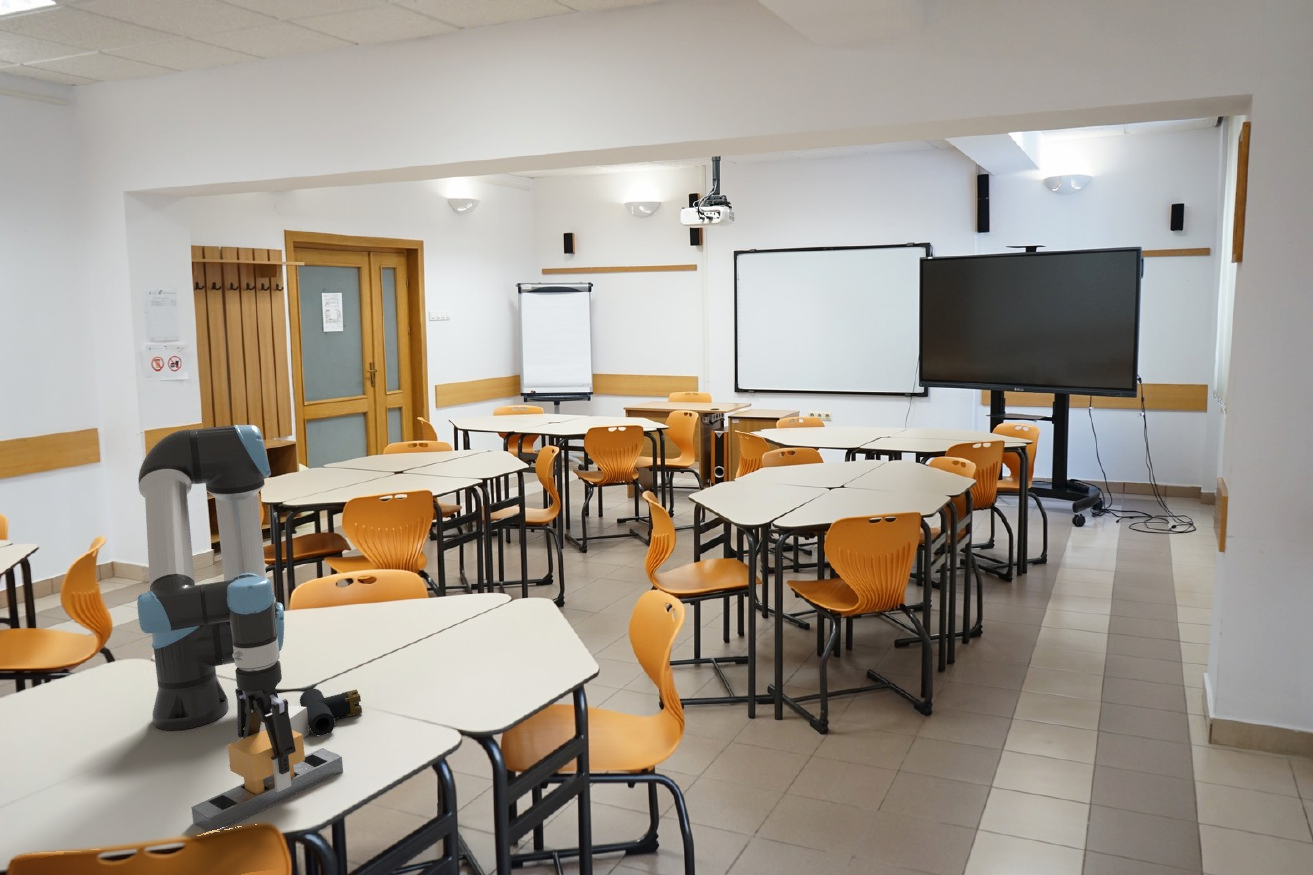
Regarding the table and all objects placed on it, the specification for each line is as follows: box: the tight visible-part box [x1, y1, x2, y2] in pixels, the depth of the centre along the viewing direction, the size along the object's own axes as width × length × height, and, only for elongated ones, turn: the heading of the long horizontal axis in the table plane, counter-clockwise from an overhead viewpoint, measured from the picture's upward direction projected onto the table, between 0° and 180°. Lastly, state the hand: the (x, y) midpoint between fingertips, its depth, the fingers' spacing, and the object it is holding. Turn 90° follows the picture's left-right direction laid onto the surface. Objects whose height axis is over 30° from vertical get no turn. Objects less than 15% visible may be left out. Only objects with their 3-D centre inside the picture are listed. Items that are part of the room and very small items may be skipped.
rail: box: [191, 747, 344, 832], centre depth 174 cm, size 6×26×3 cm, turn 142°
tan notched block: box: [227, 729, 306, 795], centre depth 173 cm, size 8×10×8 cm
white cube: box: [264, 704, 310, 739], centre depth 197 cm, size 6×6×6 cm
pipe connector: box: [299, 688, 363, 737], centre depth 206 cm, size 12×5×15 cm
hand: (270, 781), depth 174 cm, fingers closed on tan notched block, 8 cm apart
